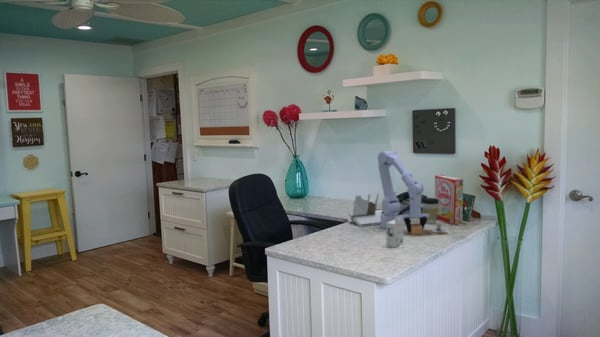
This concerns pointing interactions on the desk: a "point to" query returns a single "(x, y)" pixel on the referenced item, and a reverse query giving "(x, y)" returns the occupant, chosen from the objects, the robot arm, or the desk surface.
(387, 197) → the robot arm
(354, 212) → the architectural model
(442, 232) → the hub board
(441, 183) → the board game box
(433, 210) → the coffee cup
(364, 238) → the desk surface
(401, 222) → the ink box
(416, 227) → the collar
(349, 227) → the desk surface
